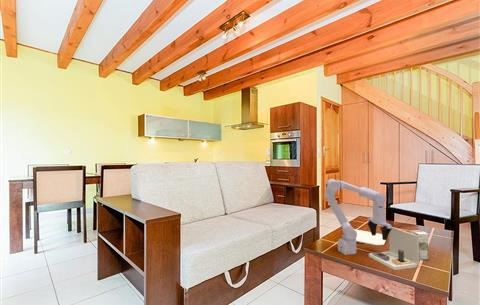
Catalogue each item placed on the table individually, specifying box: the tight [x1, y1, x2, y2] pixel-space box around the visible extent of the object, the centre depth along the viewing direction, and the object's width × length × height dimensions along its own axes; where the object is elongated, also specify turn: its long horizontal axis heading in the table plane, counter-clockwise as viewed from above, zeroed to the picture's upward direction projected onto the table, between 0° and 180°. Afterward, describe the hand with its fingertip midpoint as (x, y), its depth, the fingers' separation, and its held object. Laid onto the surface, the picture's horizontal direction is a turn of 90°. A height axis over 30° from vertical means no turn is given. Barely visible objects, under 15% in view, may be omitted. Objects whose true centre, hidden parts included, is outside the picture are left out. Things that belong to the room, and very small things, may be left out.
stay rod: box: [398, 250, 404, 263], centre depth 117 cm, size 2×2×7 cm
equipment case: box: [368, 226, 420, 271], centre depth 120 cm, size 15×16×16 cm
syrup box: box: [410, 230, 429, 261], centre depth 127 cm, size 6×6×14 cm
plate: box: [341, 228, 387, 246], centre depth 157 cm, size 25×25×2 cm
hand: (379, 237), depth 129 cm, fingers open, 7 cm apart
